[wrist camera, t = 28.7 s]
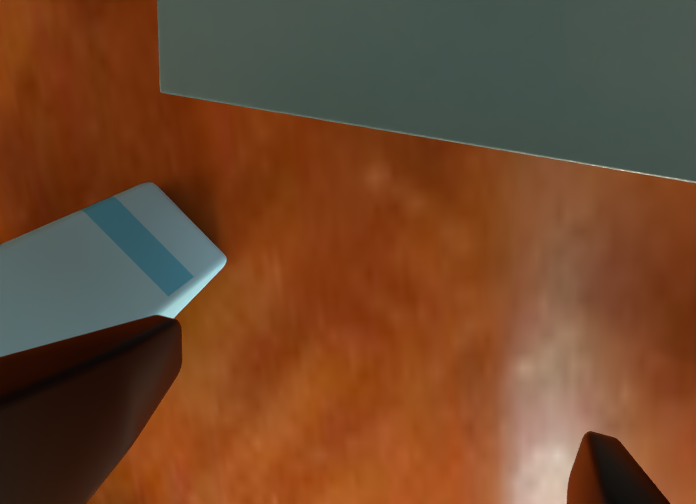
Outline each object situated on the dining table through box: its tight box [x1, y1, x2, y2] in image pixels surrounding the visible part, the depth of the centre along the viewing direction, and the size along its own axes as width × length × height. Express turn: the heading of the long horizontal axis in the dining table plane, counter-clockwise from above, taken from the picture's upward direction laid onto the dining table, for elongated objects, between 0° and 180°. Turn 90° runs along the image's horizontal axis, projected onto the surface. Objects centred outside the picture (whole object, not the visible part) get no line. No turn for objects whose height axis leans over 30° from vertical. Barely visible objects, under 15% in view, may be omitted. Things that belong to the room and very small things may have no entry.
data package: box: [0, 182, 227, 357], centre depth 22 cm, size 12×4×12 cm, turn 137°
